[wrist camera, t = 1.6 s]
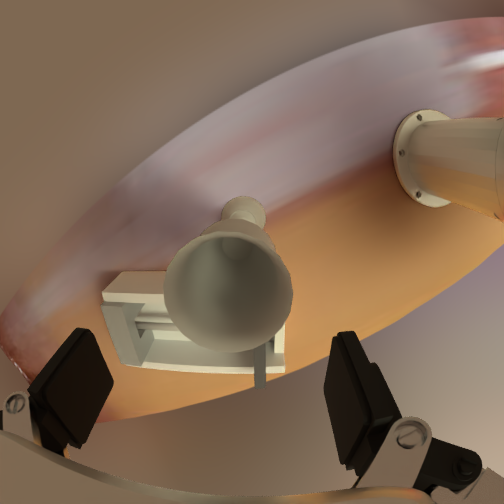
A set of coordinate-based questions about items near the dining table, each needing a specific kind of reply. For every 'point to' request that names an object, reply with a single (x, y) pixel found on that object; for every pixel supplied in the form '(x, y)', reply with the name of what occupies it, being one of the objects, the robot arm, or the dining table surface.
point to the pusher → (258, 352)
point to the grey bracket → (168, 332)
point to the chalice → (229, 283)
